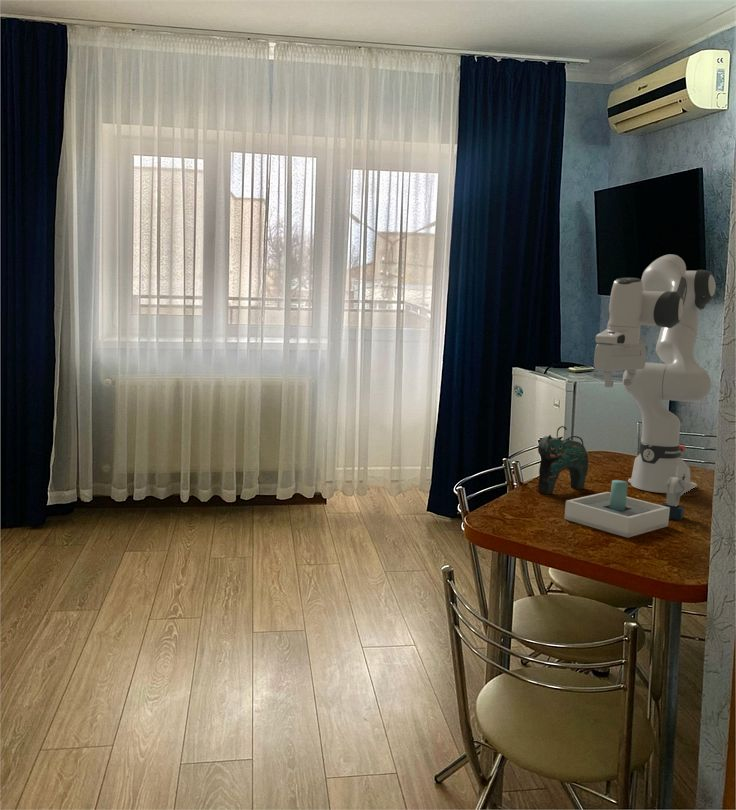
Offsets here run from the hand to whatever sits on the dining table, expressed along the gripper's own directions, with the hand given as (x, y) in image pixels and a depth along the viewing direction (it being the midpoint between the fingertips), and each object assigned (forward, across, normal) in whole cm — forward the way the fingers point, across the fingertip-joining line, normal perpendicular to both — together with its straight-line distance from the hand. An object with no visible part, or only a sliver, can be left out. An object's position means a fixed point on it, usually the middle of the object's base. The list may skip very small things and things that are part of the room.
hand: (618, 386), depth 234 cm
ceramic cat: (+34, -2, -18) cm, 39 cm away
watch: (+34, -5, +17) cm, 39 cm away
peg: (+33, +14, +12) cm, 38 cm away
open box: (+34, +14, +12) cm, 39 cm away
